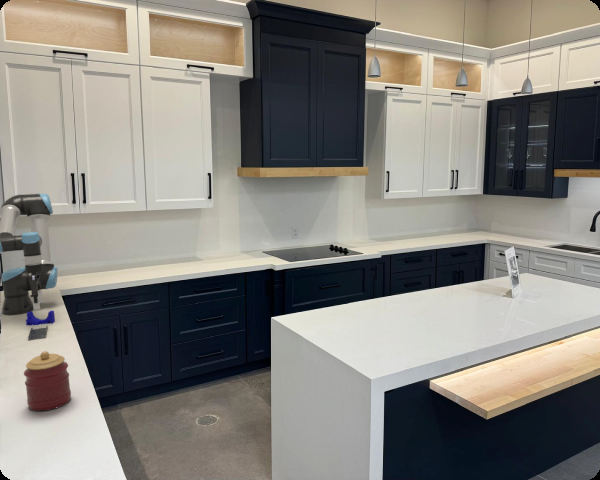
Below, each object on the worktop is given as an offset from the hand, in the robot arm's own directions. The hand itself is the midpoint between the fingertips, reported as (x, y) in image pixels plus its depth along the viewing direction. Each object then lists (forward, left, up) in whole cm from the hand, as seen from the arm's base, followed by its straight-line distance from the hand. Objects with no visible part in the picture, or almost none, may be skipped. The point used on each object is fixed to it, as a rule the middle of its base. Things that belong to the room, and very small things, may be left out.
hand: (38, 306), depth 247 cm
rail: (+17, +1, -9) cm, 19 cm away
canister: (+96, +10, -10) cm, 97 cm away
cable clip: (-1, 0, -10) cm, 10 cm away
